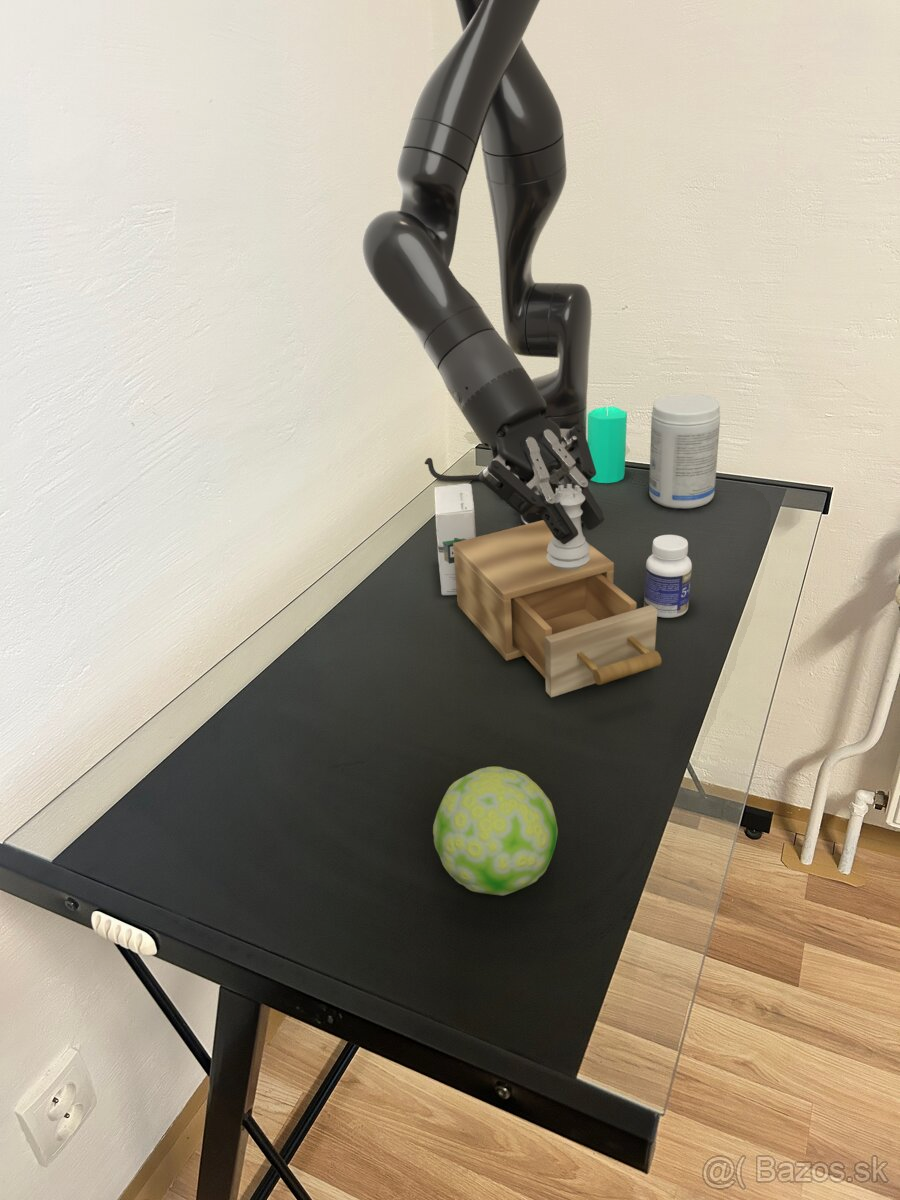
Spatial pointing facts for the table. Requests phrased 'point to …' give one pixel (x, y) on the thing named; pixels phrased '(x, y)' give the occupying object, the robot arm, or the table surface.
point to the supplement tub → (684, 450)
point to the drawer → (584, 634)
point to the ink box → (452, 528)
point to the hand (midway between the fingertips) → (584, 531)
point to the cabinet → (511, 577)
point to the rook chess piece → (578, 548)
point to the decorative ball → (495, 831)
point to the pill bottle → (668, 576)
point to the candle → (607, 443)
